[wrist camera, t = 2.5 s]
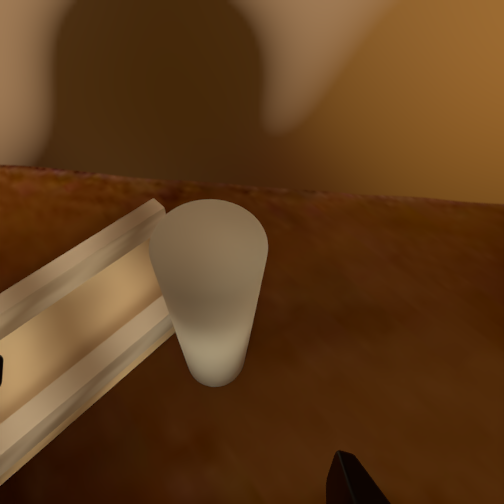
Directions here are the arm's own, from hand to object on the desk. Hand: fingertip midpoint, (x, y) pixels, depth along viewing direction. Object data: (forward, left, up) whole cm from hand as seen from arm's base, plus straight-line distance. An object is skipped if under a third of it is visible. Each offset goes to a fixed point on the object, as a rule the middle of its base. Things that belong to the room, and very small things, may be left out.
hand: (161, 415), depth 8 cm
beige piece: (+4, +3, -11) cm, 12 cm away
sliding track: (-2, +9, -11) cm, 15 cm away
